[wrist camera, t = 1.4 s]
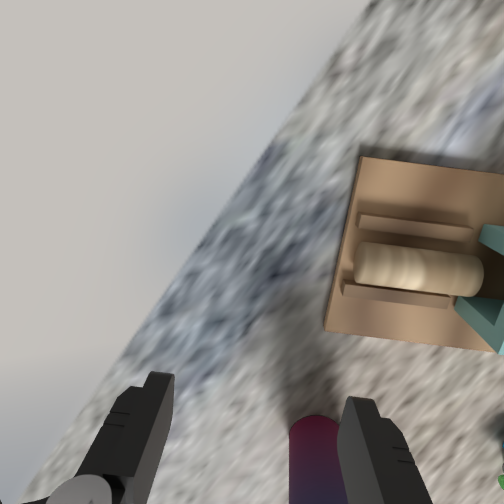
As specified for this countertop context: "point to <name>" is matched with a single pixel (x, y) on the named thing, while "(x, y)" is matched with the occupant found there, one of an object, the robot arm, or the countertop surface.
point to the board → (416, 236)
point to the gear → (501, 476)
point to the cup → (315, 463)
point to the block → (486, 299)
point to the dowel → (417, 269)
